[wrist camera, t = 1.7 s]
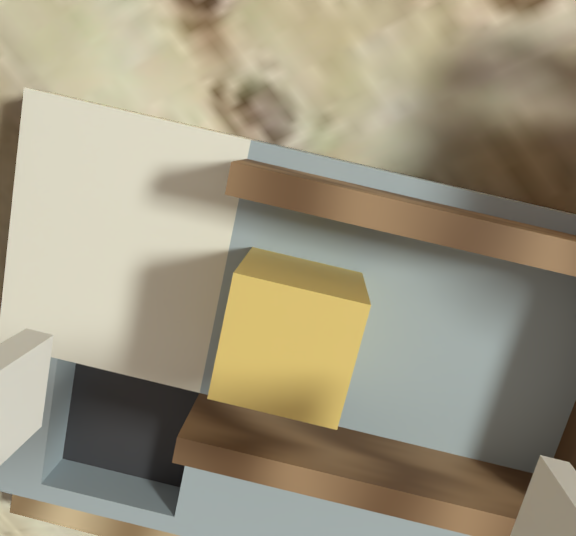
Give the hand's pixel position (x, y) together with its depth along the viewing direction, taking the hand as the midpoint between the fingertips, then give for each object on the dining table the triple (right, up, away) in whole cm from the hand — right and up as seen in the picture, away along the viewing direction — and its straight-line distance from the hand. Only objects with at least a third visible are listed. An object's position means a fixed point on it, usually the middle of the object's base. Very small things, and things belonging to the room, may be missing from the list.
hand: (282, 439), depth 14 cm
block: (0, +2, +10) cm, 11 cm away
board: (0, 0, +13) cm, 13 cm away
